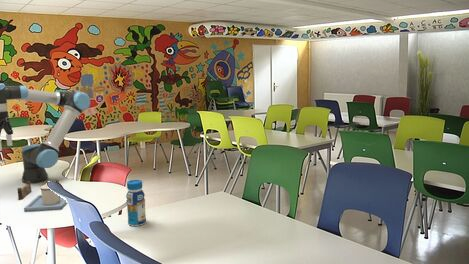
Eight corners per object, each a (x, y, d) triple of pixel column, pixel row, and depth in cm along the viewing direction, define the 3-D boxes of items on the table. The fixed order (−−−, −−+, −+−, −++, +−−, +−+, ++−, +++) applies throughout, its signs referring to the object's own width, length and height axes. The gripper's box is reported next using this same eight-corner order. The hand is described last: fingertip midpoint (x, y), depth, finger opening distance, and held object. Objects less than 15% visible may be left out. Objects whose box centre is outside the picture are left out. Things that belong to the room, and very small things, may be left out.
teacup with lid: (64, 201, 212) (62, 180, 210) (47, 206, 205) (45, 185, 203) (52, 197, 219) (50, 177, 217) (35, 202, 212) (33, 181, 210)
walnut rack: (28, 191, 233) (27, 181, 231) (59, 190, 234) (58, 179, 233) (18, 199, 219) (17, 188, 218) (51, 198, 221) (50, 186, 220)
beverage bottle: (126, 221, 186) (124, 180, 182) (145, 218, 189) (142, 177, 185) (128, 228, 178) (125, 185, 174) (147, 225, 181) (145, 182, 177)
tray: (38, 198, 220) (38, 195, 220) (72, 196, 222) (72, 193, 222) (24, 211, 200) (23, 208, 200) (61, 209, 202) (61, 206, 202)
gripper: (3, 108, 235) (7, 143, 239) (-19, 114, 211) (-14, 153, 214) (16, 108, 236) (20, 143, 239) (-4, 113, 211) (1, 152, 215)
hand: (4, 148), depth 227 cm, fingers open, 13 cm apart
